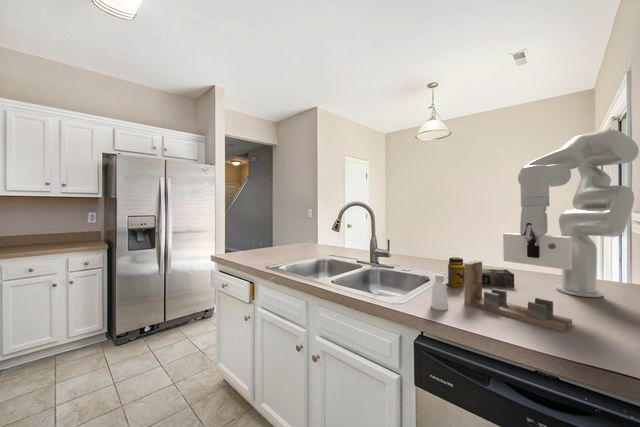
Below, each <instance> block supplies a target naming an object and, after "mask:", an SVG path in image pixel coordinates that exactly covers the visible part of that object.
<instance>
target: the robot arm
mask: <svg viewBox="0 0 640 427" xmlns="http://www.w3.org/2000/svg"><path fill="white" fill-rule="evenodd" d="M639 151H640V150H639V146H638V144H637V142H636V141H635V140H634V139H632V138H631V137H630V136H628V135H627V134H625V133H624V132H622V131H620V130H618V129H612V128H609V129H605V130H600V131H593V132H588V133H585V134H579V135H577V136H575V137H573V138H571V140H569V141H568V142H566V143H565V144H564V145H563V146H562V147H561V148H560V149H558V150H555V151H553V152H551V153H547V154H546V155H544V156H541V157H538V158H537V159H535V160H532V161H530V162H529V163H528V164H526V165H524V167H521V169H520V171H519V173H518V177H517V182H518V184H519V185H520V207H521V213H520V224H519V225H520V226H519V227H520V230H519V234H521V235H522V236H525V239H526V240H527V256H528V257H533V258H539V246H538V236H542V235H547V234H548V225H549V224H548V211H547V207H550V188H553V187H562V186H564V185H566V184H568V183H569V182H570V180H571V178H572V171H571V170H574V169H576V168H577V170H578V173H579V176H580V180H579V183H578V186H577V188H576V191H575V193H574V195H573V199H572V206H573V207H574V209H570V210H566V211H564V212H562V213H561V214H560V215H559V217H558V225H559V229H560V234H561V235H560V236H568V237H572V269H570V270H566V269H561V284H558V285H556V290H557V291H559V292H561V293H563V294H567V295H571V296H578V297H585V298H601V297H603V291H601V290H598V289H597V276H598V275H597V273H598V272H597V270H598V269H597V265H598V263H597V261H598V260H597V259H598V256H597V255H598V248H597V245H596V244H595V242H594V241H593V239H592V238H590V236H592V237H609V238H611V237H613V238H615V237H619V236H621V235H622V234H623V233H624V232H625V231H626V227H627V224H628V223H629V219H630V217H631V213H632V211H633V208H634V203H635V195H634V192H633V190H632V188H630V187H629V186H626V185H622V184H621V185H618V184H617V185H611V182H612V178H611V176H610V175H609V174H608V173H607V172H605V171H604V170H603V169H600V167H603V166H612V165H613V166H614V165H622V164H629V163H631V162H633V161H634V160H635V161H636V159H637V158H638V156H639ZM532 235H535V236H532ZM534 238H535V240H534Z"/></svg>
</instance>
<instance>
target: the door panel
mask: <svg viewBox="0 0 640 427" xmlns="http://www.w3.org/2000/svg"><path fill="white" fill-rule="evenodd" d="M502 235H503V236H502V237H503V240H502V241H503V242H502V243H503V244H502V245H503V246H502V247H503V252H502V253H503V262H509V263H516V264H523V265H530V266H538V267H545V268H552V269H560V270H562V269H566V270H570V269H572V237H568V236H562V235H547V234H545V235H542V236H538V246H539V258H533V257H528V256H527V240H526V239H525V236H522V235H521V234H520V233H516V232H513V233H512V232H505V233H502ZM532 236H535V235H532ZM534 240H535V238H534Z"/></svg>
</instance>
